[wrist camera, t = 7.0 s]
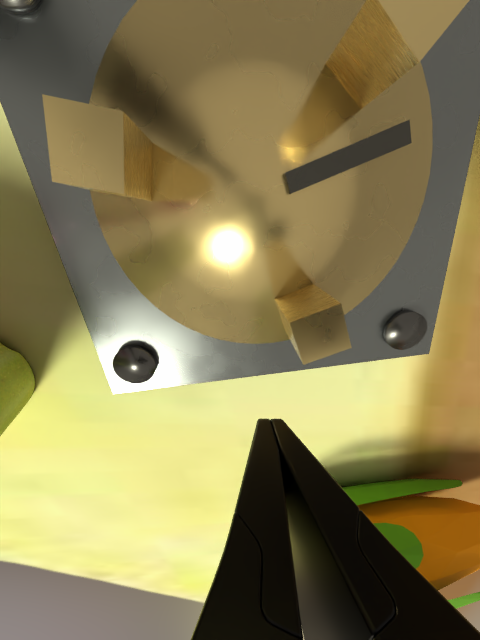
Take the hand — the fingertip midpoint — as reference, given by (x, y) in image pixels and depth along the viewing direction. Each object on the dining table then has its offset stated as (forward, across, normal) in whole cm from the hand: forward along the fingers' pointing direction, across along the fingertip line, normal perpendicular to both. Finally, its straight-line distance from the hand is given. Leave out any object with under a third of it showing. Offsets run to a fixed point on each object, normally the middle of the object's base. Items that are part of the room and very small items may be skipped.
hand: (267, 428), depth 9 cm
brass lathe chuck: (+6, 0, -8) cm, 10 cm away
